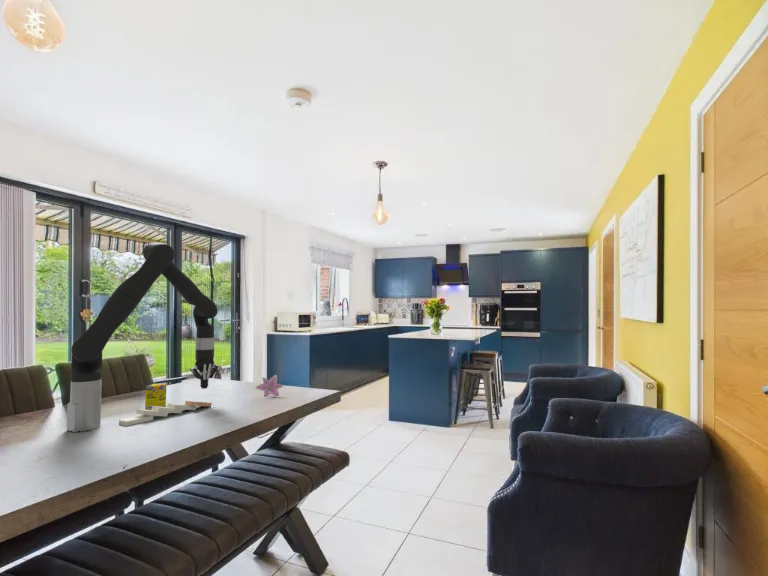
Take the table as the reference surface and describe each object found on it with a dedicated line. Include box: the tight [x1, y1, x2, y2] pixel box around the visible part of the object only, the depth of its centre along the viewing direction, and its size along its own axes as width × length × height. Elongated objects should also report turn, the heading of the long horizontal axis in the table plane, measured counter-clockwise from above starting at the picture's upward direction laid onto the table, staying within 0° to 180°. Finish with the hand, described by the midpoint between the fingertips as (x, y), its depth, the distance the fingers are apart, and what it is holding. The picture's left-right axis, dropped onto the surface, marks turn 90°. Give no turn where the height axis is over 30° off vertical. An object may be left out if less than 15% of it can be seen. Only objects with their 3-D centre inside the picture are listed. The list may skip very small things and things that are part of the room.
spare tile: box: [184, 400, 213, 407], centre depth 182 cm, size 2×5×10 cm
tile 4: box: [135, 408, 168, 417], centre depth 166 cm, size 2×5×10 cm
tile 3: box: [151, 406, 183, 413], centre depth 171 cm, size 2×5×10 cm
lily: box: [255, 374, 284, 398], centre depth 209 cm, size 12×12×10 cm
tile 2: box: [166, 402, 197, 410], centre depth 176 cm, size 2×5×10 cm
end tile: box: [118, 414, 153, 427], centre depth 161 cm, size 2×5×10 cm
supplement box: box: [144, 383, 167, 410], centre depth 179 cm, size 6×6×11 cm
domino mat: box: [143, 406, 215, 424], centre depth 175 cm, size 31×9×1 cm, turn 148°
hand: (204, 388), depth 185 cm, fingers closed
